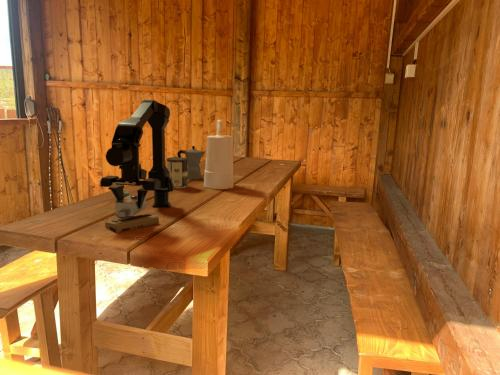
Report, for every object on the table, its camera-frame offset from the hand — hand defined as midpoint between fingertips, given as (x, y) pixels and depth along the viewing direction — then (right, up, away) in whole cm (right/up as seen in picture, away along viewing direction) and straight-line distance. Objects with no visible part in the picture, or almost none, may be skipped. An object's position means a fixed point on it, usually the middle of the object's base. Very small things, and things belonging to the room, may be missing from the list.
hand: (131, 207), depth 129 cm
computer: (0, -7, +1) cm, 7 cm away
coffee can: (+3, +7, +64) cm, 65 cm away
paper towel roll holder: (+24, +7, +69) cm, 74 cm away
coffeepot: (+7, +12, +87) cm, 88 cm away
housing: (0, -1, 0) cm, 1 cm away
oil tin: (-7, -3, +13) cm, 15 cm away
